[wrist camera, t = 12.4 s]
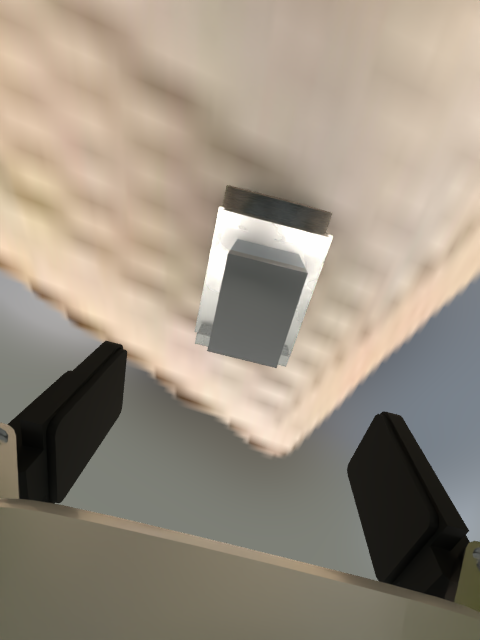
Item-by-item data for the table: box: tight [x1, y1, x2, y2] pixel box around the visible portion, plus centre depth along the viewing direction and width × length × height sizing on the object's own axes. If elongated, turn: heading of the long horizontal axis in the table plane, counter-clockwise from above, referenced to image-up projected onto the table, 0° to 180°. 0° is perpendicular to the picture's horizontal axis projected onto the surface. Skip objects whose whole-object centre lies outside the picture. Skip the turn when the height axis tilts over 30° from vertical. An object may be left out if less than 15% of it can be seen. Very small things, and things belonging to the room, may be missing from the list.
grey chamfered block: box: [207, 239, 308, 368], centre depth 22 cm, size 7×5×6 cm
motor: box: [195, 185, 333, 367], centre depth 29 cm, size 14×10×13 cm
